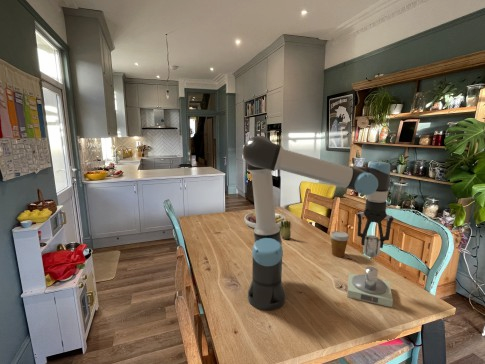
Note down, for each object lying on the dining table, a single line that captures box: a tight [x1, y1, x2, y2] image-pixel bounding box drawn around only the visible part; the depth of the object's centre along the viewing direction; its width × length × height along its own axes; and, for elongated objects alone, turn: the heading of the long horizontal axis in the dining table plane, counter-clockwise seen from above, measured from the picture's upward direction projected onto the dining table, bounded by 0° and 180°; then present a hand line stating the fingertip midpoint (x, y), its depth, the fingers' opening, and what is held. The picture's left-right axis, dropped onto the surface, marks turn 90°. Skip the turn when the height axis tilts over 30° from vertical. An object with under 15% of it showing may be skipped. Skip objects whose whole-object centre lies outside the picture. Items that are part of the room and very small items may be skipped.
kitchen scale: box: [346, 273, 394, 308], centre depth 108 cm, size 14×16×4 cm
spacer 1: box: [364, 234, 380, 258], centre depth 109 cm, size 4×4×8 cm
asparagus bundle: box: [280, 220, 292, 240], centre depth 162 cm, size 6×5×12 cm
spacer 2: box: [364, 266, 379, 291], centre depth 104 cm, size 4×4×8 cm
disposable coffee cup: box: [329, 230, 350, 258], centre depth 141 cm, size 10×10×12 cm
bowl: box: [244, 211, 287, 229], centre depth 190 cm, size 30×30×8 cm
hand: (371, 253), depth 109 cm, fingers closed on spacer 1, 4 cm apart
